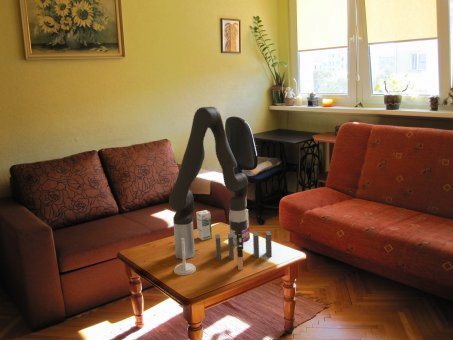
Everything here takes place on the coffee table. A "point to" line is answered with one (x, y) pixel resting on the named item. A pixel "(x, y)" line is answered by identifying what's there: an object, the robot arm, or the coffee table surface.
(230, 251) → the domino
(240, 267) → the domino
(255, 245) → the domino
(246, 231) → the candy bar box
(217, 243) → the domino
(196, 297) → the coffee table surface
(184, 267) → the white paper towel holder
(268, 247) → the domino
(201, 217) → the syrup box
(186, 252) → the robot arm
